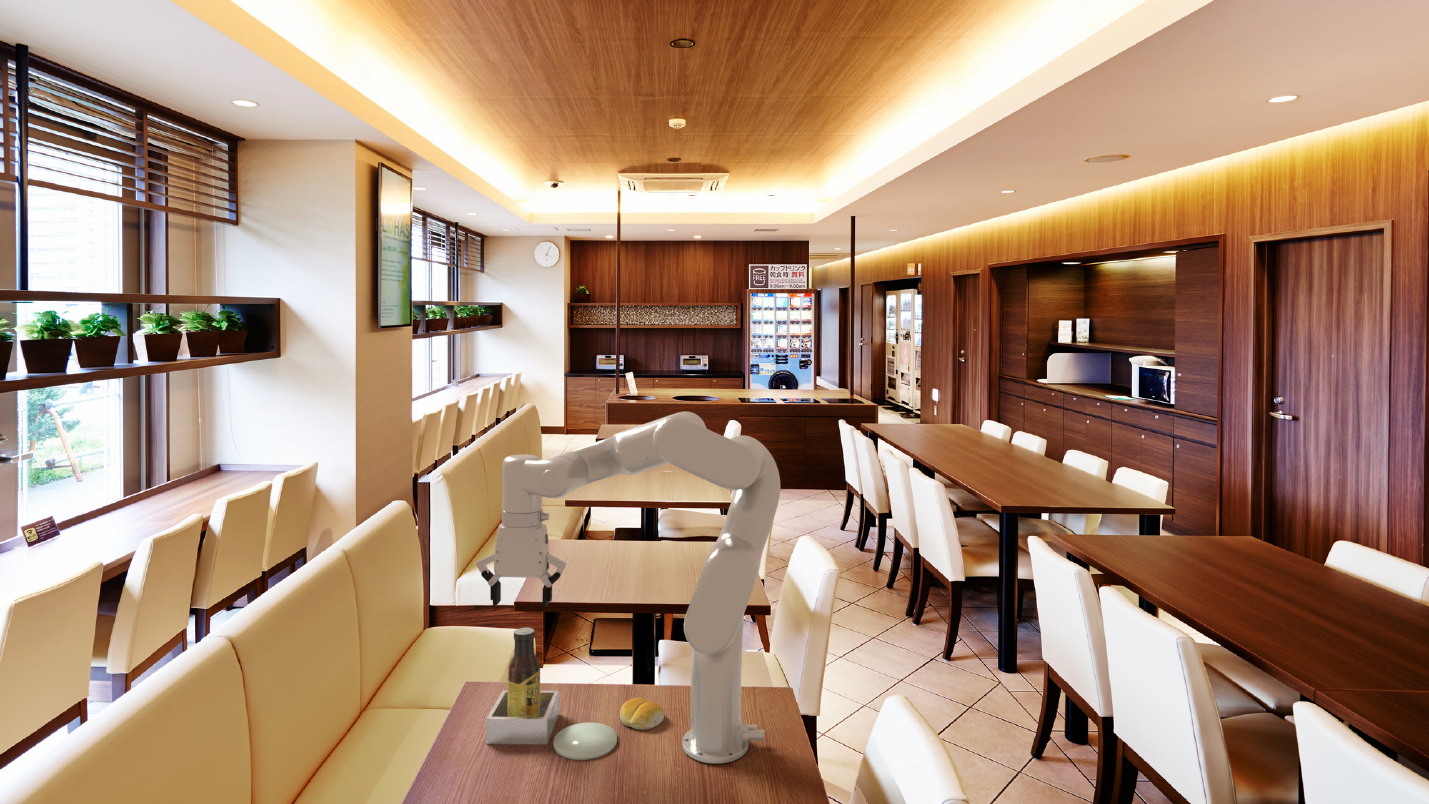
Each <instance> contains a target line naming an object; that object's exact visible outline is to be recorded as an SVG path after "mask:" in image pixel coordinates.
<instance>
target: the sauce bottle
mask: <svg viewBox="0 0 1429 804" xmlns="http://www.w3.org/2000/svg"><path fill="white" fill-rule="evenodd" d="M535 634H536V632H535V629H534V628H531V627H521V628H517V629H515V630H514V631H513V639H514V650H513V653H514V654H513V657H512V658H511V659H510V661H509V664H508V668H507V670H508V676H507V690H508V716H507V717H541V716H540V691H541V668H540V665H539V661H538V659H537V657H536V654H535V649H534V648H535V647H534V646H535V637H536V635H535Z"/></svg>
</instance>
